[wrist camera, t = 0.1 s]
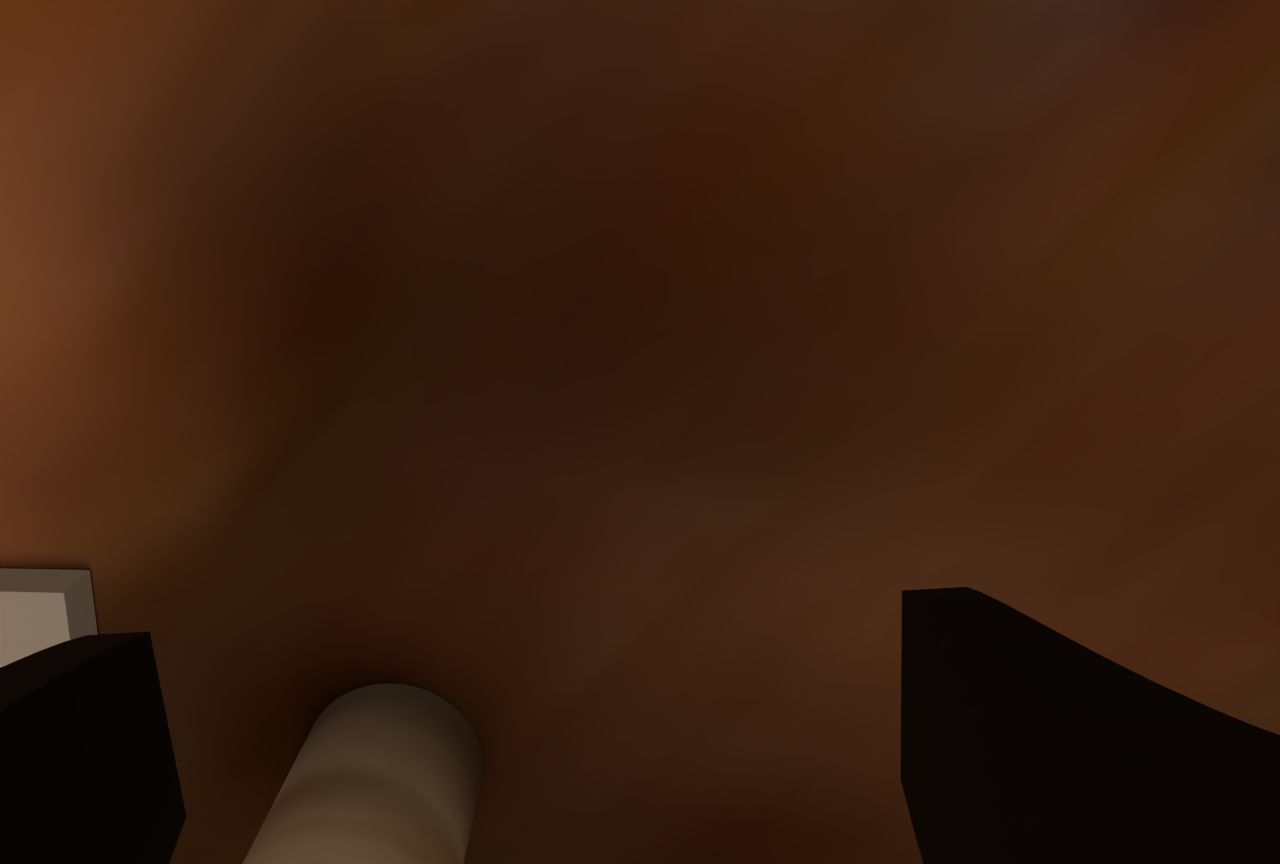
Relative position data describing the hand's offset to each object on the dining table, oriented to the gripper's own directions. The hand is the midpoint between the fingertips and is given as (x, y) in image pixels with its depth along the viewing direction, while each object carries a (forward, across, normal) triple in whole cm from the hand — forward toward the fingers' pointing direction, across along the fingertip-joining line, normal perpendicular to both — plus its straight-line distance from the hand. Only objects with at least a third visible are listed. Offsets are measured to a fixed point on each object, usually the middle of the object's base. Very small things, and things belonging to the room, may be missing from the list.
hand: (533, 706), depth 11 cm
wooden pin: (+10, +4, +7) cm, 13 cm away
